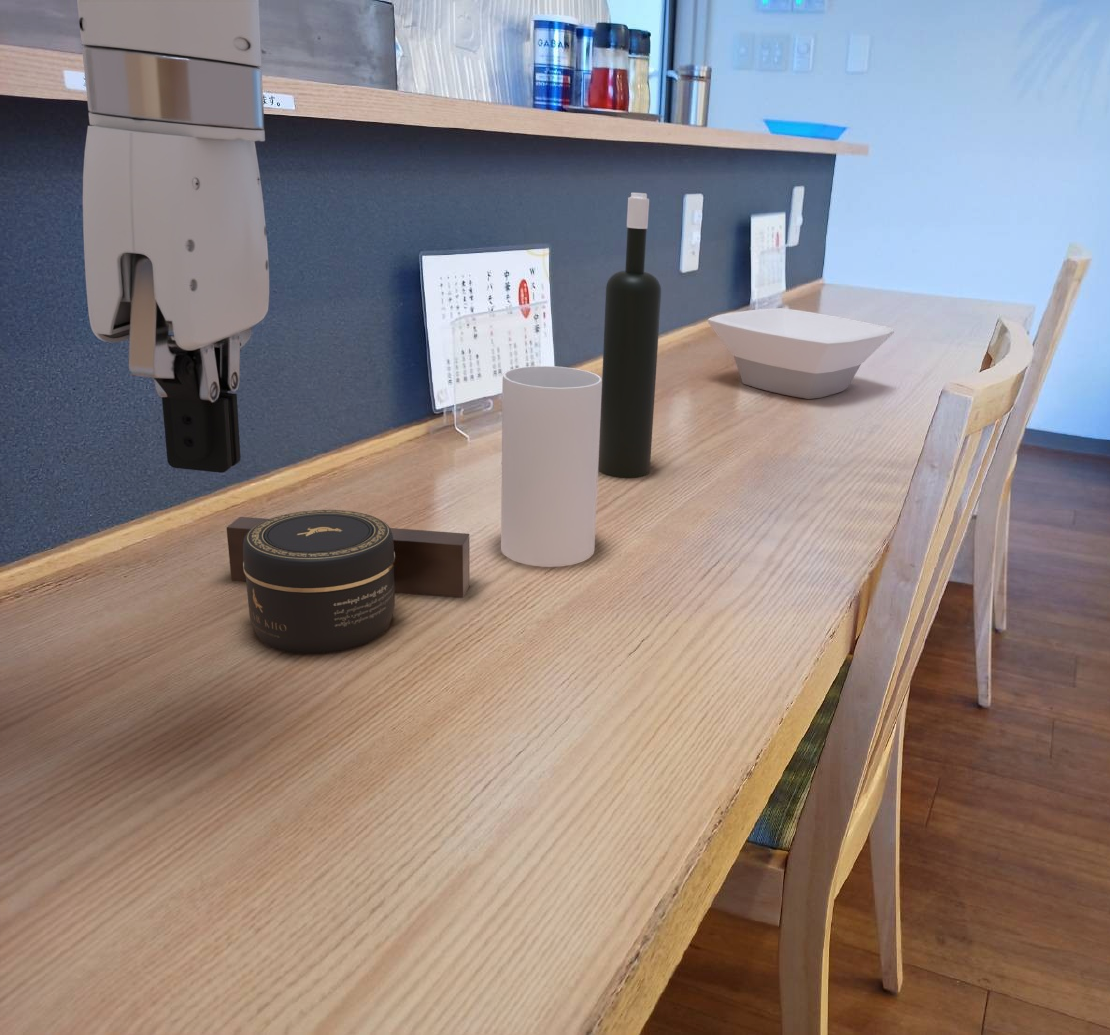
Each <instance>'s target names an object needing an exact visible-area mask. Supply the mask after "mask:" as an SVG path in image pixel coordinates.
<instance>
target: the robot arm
mask: <svg viewBox="0 0 1110 1035" xmlns="http://www.w3.org/2000/svg"><path fill="white" fill-rule="evenodd" d="M259 1H260V0H76V4H77V5H76V6H77V14H78V15H77V16H78V24H79V25H78V26H79V33H80V43H81V45H82V46H83V47H82V48H81V51H82V52H81V53H82V61H83V72H84V81H85V82H84V83H85V92H86V99H87V110H88V122H89V125H87V130H86V137H85V138H86V139H85V146H84V157H83V170H82V171H83V172H82V230H83V255H84V275H85V288H86V302H87V311H88V319H89V324H90V329H91V331H92V333H93V334H94V336H95V337H96V338H97V339H98V340H100V341H102V342H105V343H120V342H125V341H126V340H129V342H128V343H129V344H128V371H129V374H131V375H132V376H136V377H142V378H143V377H145V378H153V384H154V389H155V392H156V396H158V397H159V398H161V402H162V415H163V426H164V427H163V428H164V438H165V449H166V459H167V464H168V465H169V466H170V467H171V468H173V469H181V470H189V471H190V470H192V471H201V472H209V473H219V474H221V473H222V474H223V473H225V472H227V471H229V470H230V469H231V468H232V467H234V466H236V465H237V464H239V463H240V461H241V459H242V458H241V441H240V426H239V410H238V394H237V393H235V392H237V391H238V389H239V387H240V380H241V352H242V348H243V347H244V346H245V345H246V344H247V343H248V342H249V341H250V339H251V337H252V332H253V330H252V329H253V328H252V327H255V325H258V324H259V323H260V322H261V321H262V320H263V319H265V317H266V315H267V314H268V312H269V304H270V266H269V263H270V262H269V250H268V237H267V226H266V225H267V224H266V215H265V205H264V197H263V196H264V195H263V189H262V180H261V173H260V169H259V168H260V167H259V161H258V155H257V154H258V153H257V148H256V142H265V141H266V132H265V110H264V109H265V108H264V86H263V70H262V51H261V50H262V49H261V25H260V24H261V23H260V2H259ZM169 332H173V334H170V333H169ZM232 392H233V393H232Z"/></svg>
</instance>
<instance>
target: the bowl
mask: <svg viewBox="0 0 1110 1035" xmlns="http://www.w3.org/2000/svg"><path fill="white" fill-rule="evenodd" d="M707 323H708V324H709V326H710V327H711V329H712V330H713V331H714V332H715V334H716V335H717V336H718V338H719V339H720V341H721V343H723V345H724V346H725V347H726V348H727V350H728V352H729V353H730V354H731V356H732V357H733V358H734V362H735V364H736V367H737V371H738V373H739V377H740V379H741V383H742V384H744V385H746V386H749V387H752V388H755V389H759V390H762V391H766V392H770V393H773V394H778V395H783V396H787V397H794V398H799V399H804V400H813V399H821V398H824V397H828V396H829V397H830V396H833V395H836V394H838V393H842V392H844V391H845V390H846V389H848V387H849V386H850V384H851V382H853V379H854V377H856V374H857V372H858V370H859V369H860V367H861V365H862V364H863V363H865V362H866V360H868V358H870V357H871V356H872V355H873V354H874V353H875V352H876V351H877V350H878V349H879V348H880V347H881V346H882V345H883V344H884V343H885V342H886V341H887V340H888V339H889V338H890V337H891V336H892V335H894V333H895V329H894V328H893V327H889V326H885V325H881V324H877V323H874V322H873V323H872V322H867V321H863V320H859V319H852V318H848V317H843V316H837V315H830V314H824V313H819V312H814V311H813V312H812V311H805V310H799V309H791V308H785V307H773V308H759V309H750V310H749V309H748V310H742V311H734V312H728V313H721V314H717V315H715V316H711V317H710V318H708V319H707Z"/></svg>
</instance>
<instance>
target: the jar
mask: <svg viewBox="0 0 1110 1035" xmlns="http://www.w3.org/2000/svg"><path fill="white" fill-rule="evenodd" d="M267 519H268V520H266V521H264V522H261V523H259V524H258V525H256V526H255V527H253V528H252V529H251V530H250V531H248V533H247V534H246V536H245V538H244V542H243V558H244V562H243V569H244V573H245V575H246V582H245V583H246V593H247V594H246V595H247V603H248V604H247V605H248V614H249V619H250V622H251V624H252V627H253V629H254V632H255V634H256V636H257V638H258V639H259V641H260V642H261V643H263V644H264V645H266V646H267V647H269V648H272V649H274V650H277V651H280V652H284V653H290V654H296V655H297V654H298V655H326V654H327V655H328V654H335V653H342V652H345V651H346V652H347V651H350V650H354V649H357V648H360V647H362V646H365V645H368V644H369V643H372V642H373V641H375V640H377V639H378V638H380V637H381V636H382V635H384V634H385V633H386V632H387V631H388V629H389V627H390V625H391V622H392V619H393V614H394V610H395V606H396V604H395V603H396V593H395V589H394V563H395V552H394V542H393V535H392V531H391V529H390V528H391V527H390V526H389V524H387V523H386V522H385V521H383V520H382V519H380V518H378V517H376V516H374V515H370V514H367V513H363V512H358V511H352V510H343V509H315V510H305V511H296V512H291V513H286V514H282V515H277V516H274V517H272V518H271V517H270V518H267Z"/></svg>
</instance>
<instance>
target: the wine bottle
mask: <svg viewBox="0 0 1110 1035" xmlns="http://www.w3.org/2000/svg"><path fill="white" fill-rule="evenodd" d="M649 210H650V198H648V194H647V193H645V192H644V193H643V192H633V191H632V192H630V196H629V197H627V214H626V228H627V231H626V232H627V233H626V250H625V251H626V252H625V253H626V254H625V268H624V270H619V271H617V272H615V273H613V274H612V275H611V276H610V277H609V279H608V280H607V283H606V286H605V303H604V324H603V325H604V326H603V327H604V328H603V349H602V350H603V351H602V370H601V372H602V374H601V379H602V392H601V415H600V437H599V460H598V472H600V473H601V474H603V475H604V476H607V477H612V478H617V479H638V478H644V477H646V476H648V475H650V473H651V458H652V443H653V427H654V411H655V396H656V379H657V378H656V377H657V365H658V364H657V363H658V351H659V350H658V349H659V334H660V333H659V332H660V317H661V303H662V302H661V301H662V287H661V283H660V281H659V280H658V278H657V277H656V276H655V275H653V274H651V273H649V272H646V271H645V265H646V264H645V263H646V248H647V246H646V245H647V233H648V232H647V231H648V227H649V213H650V212H649Z"/></svg>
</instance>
